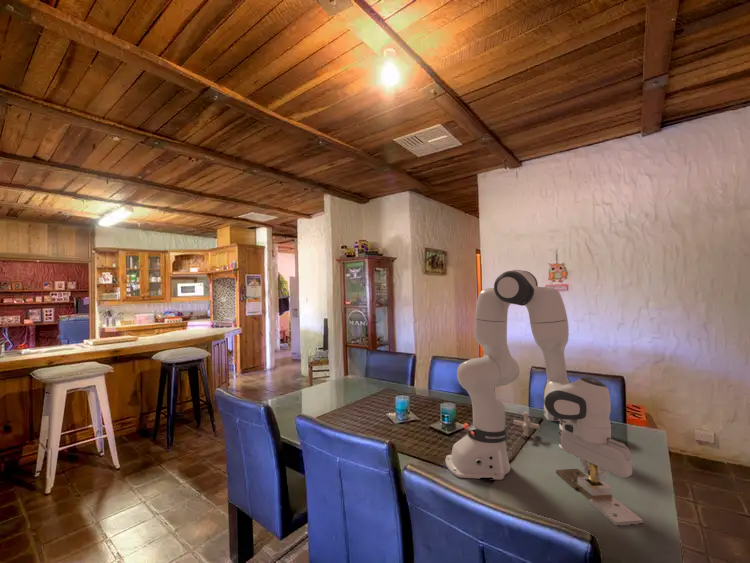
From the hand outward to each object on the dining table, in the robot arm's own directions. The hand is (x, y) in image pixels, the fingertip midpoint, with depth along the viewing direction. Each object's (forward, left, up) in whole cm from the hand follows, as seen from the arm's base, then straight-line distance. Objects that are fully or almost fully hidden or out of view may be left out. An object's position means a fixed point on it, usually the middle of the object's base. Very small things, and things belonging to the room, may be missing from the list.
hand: (594, 476), depth 107 cm
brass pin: (0, 0, -4) cm, 4 cm away
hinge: (0, 0, -6) cm, 6 cm away
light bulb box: (+26, +59, -6) cm, 65 cm away
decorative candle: (+13, +30, -6) cm, 33 cm away
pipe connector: (+1, +42, -6) cm, 42 cm away
